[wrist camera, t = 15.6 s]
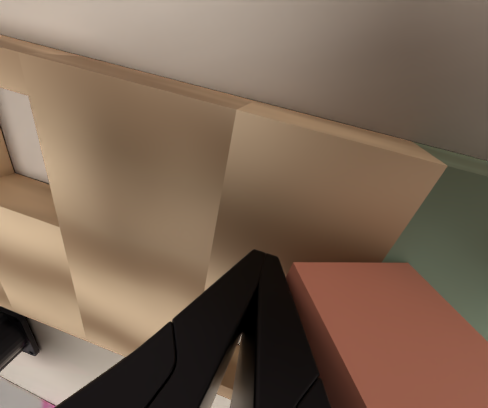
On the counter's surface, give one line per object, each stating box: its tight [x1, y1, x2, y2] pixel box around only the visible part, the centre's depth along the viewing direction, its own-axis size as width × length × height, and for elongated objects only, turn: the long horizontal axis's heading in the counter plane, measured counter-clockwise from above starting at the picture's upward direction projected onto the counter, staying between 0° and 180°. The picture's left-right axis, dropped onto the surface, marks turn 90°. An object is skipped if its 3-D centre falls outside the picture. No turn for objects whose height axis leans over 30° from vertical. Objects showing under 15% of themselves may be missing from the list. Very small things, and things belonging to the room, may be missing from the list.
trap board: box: [0, 35, 488, 400], centre depth 12 cm, size 16×28×2 cm, turn 79°
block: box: [286, 262, 488, 408], centre depth 6 cm, size 4×4×5 cm
